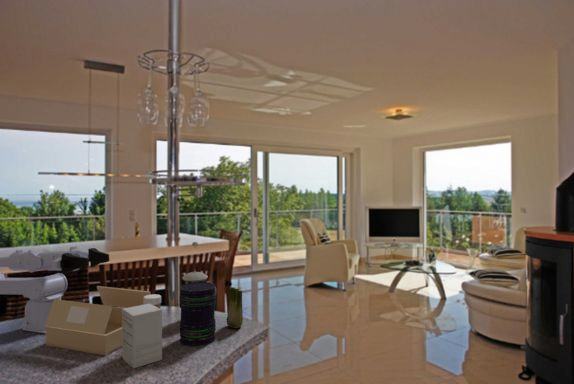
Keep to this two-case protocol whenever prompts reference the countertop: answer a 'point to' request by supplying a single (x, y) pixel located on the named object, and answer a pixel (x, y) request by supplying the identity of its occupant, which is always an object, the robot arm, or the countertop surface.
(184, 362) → the countertop surface
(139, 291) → the flap
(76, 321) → the flap
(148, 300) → the sprinkles bottle
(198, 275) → the french press
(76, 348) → the carton
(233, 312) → the fennel bulb
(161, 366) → the countertop surface
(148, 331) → the supplement box
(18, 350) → the countertop surface
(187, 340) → the storage jar
